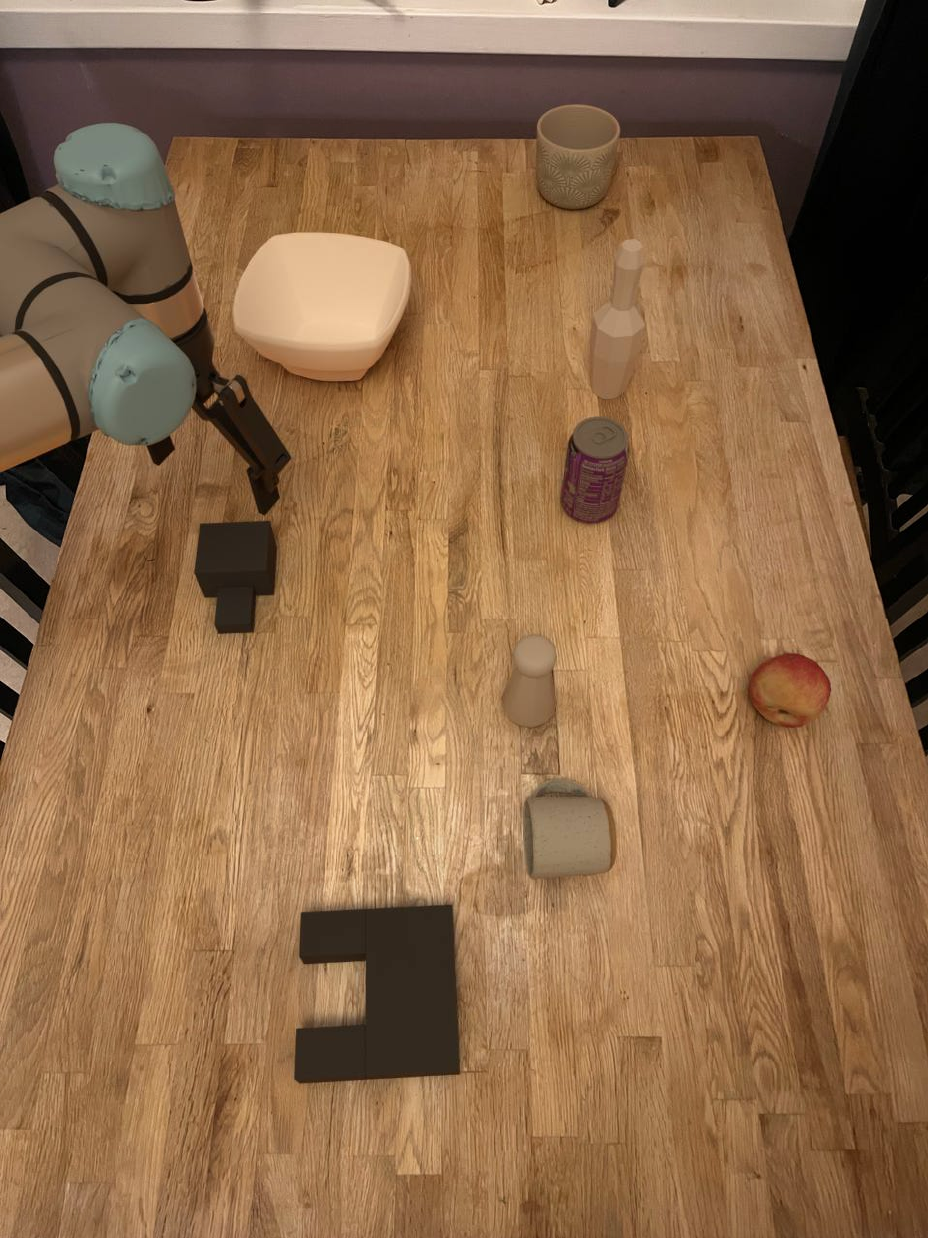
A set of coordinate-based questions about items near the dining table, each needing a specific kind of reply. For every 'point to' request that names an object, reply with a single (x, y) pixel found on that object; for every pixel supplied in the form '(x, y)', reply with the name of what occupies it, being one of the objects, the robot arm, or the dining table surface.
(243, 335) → the bowl
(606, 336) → the low poly bottle
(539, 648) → the salt shaker
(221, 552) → the tab pad
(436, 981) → the dark u-shaped block
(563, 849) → the ceramic mug
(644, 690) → the dining table surface
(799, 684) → the fruit
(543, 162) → the planter
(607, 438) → the beverage can
